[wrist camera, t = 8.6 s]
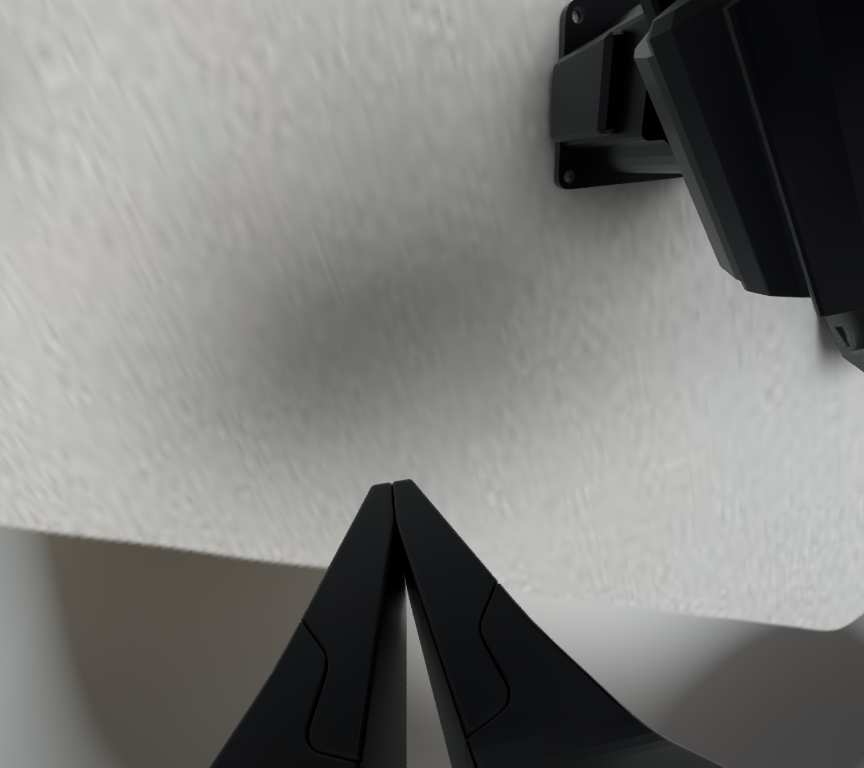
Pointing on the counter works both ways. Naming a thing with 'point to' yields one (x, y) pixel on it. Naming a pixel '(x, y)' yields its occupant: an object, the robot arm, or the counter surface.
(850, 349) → the cpu cooler
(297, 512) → the counter surface
